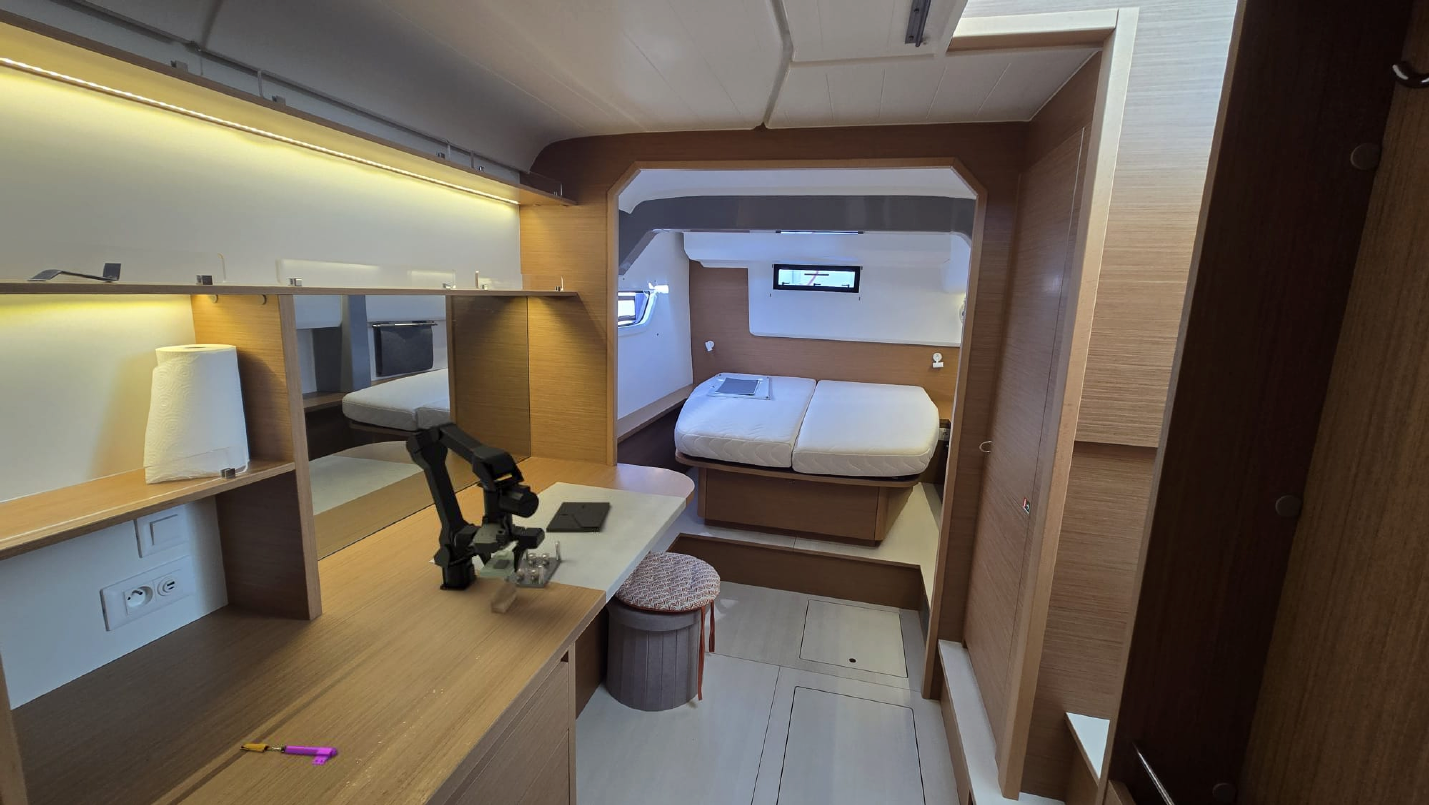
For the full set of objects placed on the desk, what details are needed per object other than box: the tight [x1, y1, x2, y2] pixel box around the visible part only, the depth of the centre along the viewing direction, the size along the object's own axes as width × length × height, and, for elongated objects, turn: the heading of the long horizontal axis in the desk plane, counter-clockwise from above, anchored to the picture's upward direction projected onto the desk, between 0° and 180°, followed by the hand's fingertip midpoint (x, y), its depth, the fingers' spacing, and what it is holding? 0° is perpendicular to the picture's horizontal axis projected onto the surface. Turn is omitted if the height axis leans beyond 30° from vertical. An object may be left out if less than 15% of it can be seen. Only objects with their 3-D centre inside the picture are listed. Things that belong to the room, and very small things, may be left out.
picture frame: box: [545, 501, 611, 534], centre depth 177 cm, size 16×3×21 cm
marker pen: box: [244, 743, 338, 766], centre depth 87 cm, size 3×1×16 cm
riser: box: [490, 581, 517, 613], centre depth 129 cm, size 3×7×4 cm, turn 177°
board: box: [478, 550, 524, 579], centre depth 127 cm, size 6×10×2 cm, turn 177°
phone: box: [497, 525, 526, 552], centre depth 162 cm, size 8×1×15 cm
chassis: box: [503, 541, 562, 589], centre depth 143 cm, size 10×14×6 cm
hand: (502, 571), depth 127 cm, fingers closed on board, 6 cm apart
